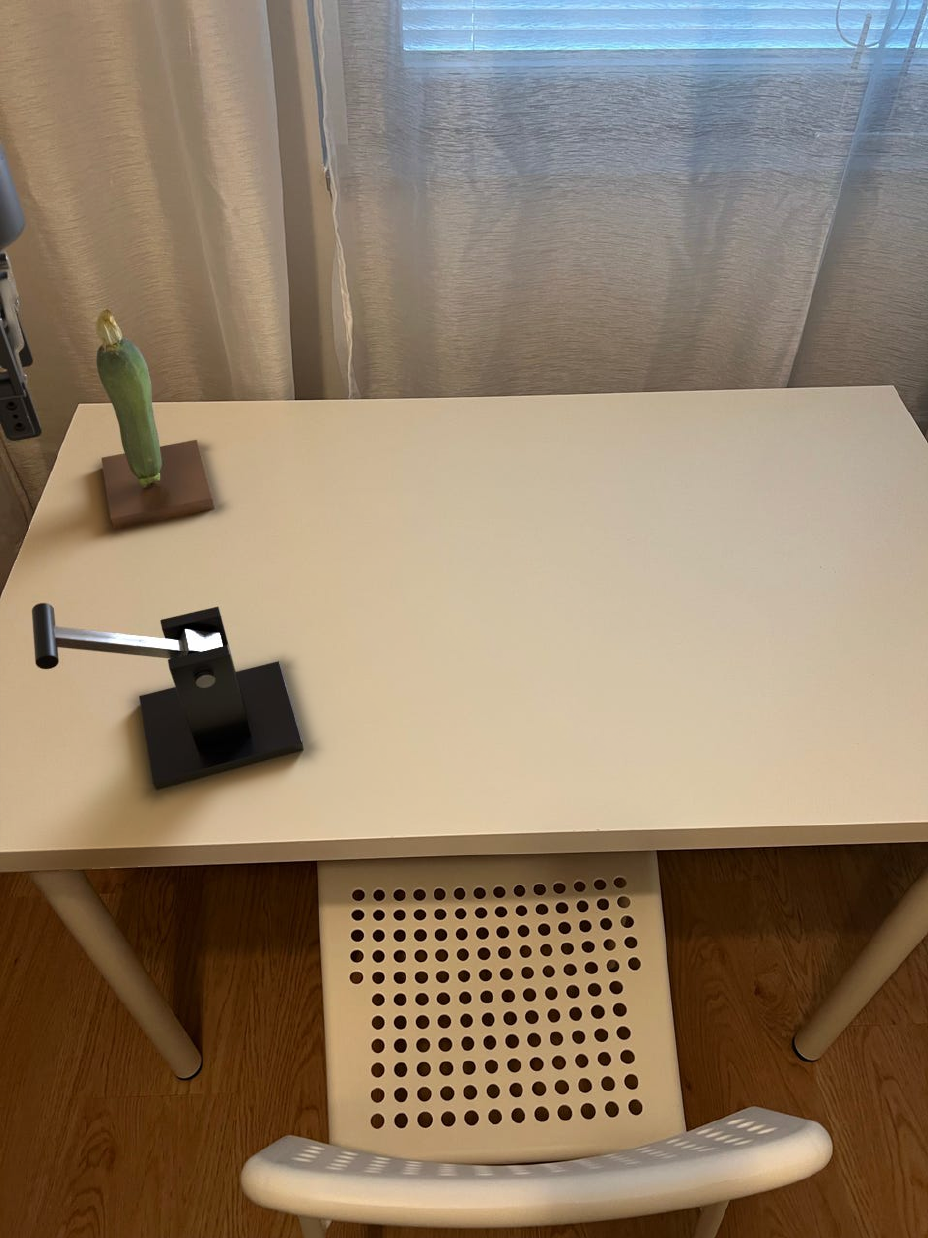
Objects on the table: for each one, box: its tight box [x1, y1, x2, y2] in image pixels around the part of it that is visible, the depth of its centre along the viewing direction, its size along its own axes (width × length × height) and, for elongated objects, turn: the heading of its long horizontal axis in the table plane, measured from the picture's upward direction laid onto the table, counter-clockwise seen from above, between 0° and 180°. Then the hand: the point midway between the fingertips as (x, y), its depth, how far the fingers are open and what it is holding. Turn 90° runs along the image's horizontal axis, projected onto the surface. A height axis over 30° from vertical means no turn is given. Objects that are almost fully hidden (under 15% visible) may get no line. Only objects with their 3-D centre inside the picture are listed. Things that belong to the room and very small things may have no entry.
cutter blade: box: [31, 602, 223, 670], centre depth 68 cm, size 13×5×2 cm
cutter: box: [138, 606, 305, 791], centre depth 74 cm, size 12×9×12 cm
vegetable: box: [95, 308, 162, 488], centre depth 89 cm, size 4×4×20 cm
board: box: [101, 439, 216, 530], centre depth 98 cm, size 10×10×2 cm
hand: (21, 399), depth 64 cm, fingers open, 8 cm apart
